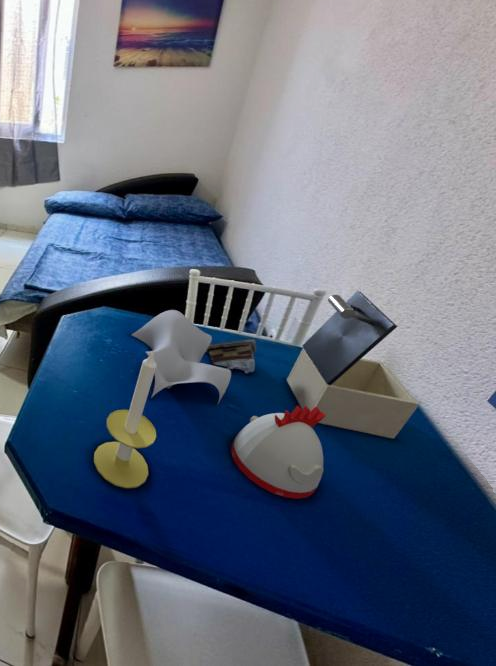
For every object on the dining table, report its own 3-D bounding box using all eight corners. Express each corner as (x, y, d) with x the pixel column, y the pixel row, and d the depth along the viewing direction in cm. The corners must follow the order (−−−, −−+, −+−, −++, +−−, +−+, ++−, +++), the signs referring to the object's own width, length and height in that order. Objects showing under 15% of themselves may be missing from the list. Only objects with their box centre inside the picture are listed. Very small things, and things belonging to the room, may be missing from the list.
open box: (361, 394, 96) (382, 361, 91) (394, 438, 84) (419, 404, 80) (286, 379, 99) (302, 347, 95) (308, 420, 88) (327, 386, 83)
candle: (151, 454, 79) (189, 343, 66) (144, 497, 71) (186, 380, 58) (99, 435, 83) (126, 326, 70) (88, 474, 75) (115, 358, 62)
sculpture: (233, 407, 91) (248, 374, 86) (146, 397, 93) (156, 364, 88) (197, 341, 112) (207, 311, 108) (127, 334, 114) (134, 305, 110)
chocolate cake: (203, 368, 103) (254, 354, 95) (200, 346, 108) (248, 330, 100) (223, 387, 106) (274, 374, 99) (219, 364, 111) (267, 351, 103)
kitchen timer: (334, 499, 72) (376, 440, 65) (258, 498, 71) (292, 439, 64) (283, 435, 84) (313, 380, 77) (217, 435, 84) (242, 379, 76)
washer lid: (361, 292, 86) (330, 279, 86) (398, 326, 74) (362, 311, 75) (305, 347, 94) (277, 335, 95) (330, 385, 83) (299, 372, 84)
